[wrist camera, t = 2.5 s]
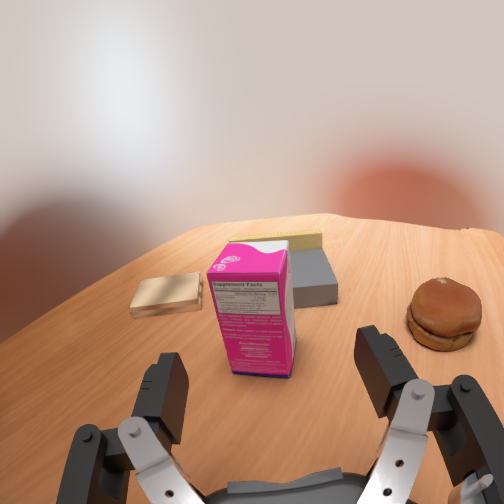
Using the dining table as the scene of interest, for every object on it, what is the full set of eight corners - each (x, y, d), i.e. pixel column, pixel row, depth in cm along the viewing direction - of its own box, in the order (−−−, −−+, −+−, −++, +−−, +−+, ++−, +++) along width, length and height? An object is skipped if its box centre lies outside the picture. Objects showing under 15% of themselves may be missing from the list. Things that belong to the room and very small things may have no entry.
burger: (430, 364, 21) (443, 328, 19) (392, 313, 30) (397, 280, 28) (488, 336, 21) (501, 303, 19) (448, 297, 30) (456, 266, 28)
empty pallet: (132, 319, 35) (128, 307, 34) (143, 291, 42) (140, 280, 41) (201, 311, 36) (198, 298, 35) (203, 282, 43) (200, 271, 42)
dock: (225, 312, 34) (218, 274, 32) (234, 268, 45) (230, 237, 43) (337, 303, 33) (338, 264, 31) (320, 261, 44) (320, 229, 42)
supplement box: (243, 336, 30) (227, 240, 25) (297, 338, 28) (293, 238, 24) (229, 374, 25) (204, 270, 20) (290, 379, 23) (285, 271, 19)
